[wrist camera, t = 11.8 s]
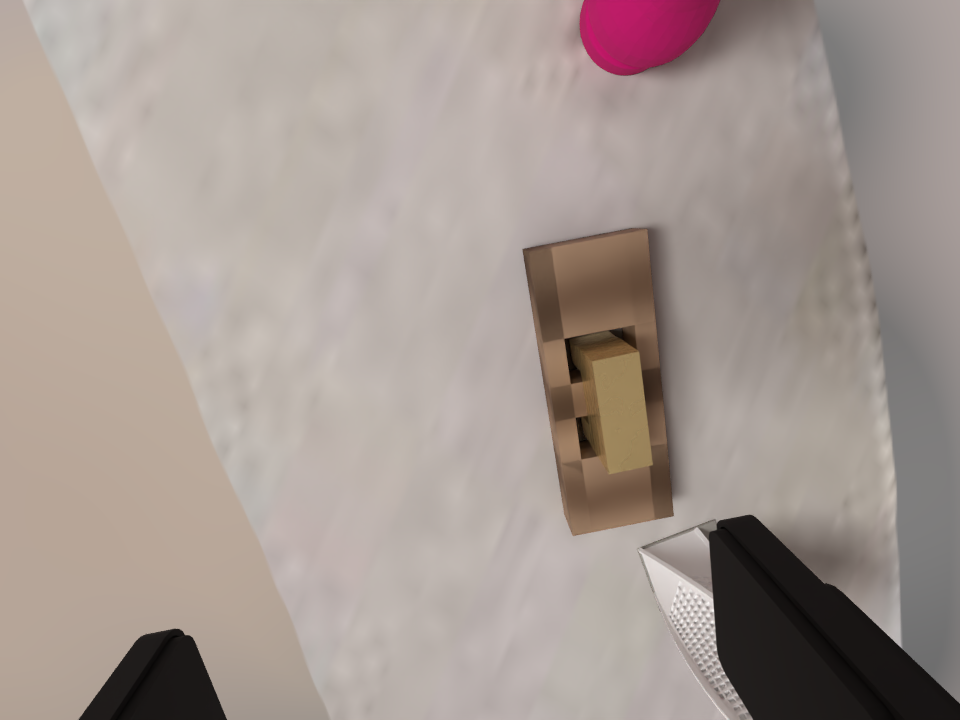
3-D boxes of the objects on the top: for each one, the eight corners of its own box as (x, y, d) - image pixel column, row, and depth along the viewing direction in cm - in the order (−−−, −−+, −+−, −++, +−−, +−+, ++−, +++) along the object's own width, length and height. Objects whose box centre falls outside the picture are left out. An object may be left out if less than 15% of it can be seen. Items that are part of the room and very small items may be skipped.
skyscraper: (643, 614, 47) (908, 1149, 20) (616, 542, 45) (872, 1034, 18) (732, 580, 47) (1124, 1079, 20) (709, 506, 44) (1113, 953, 18)
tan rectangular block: (568, 337, 39) (592, 361, 33) (607, 329, 39) (639, 351, 33) (583, 434, 41) (608, 474, 35) (620, 426, 41) (652, 465, 35)
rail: (522, 249, 37) (528, 251, 35) (631, 228, 38) (647, 229, 35) (564, 514, 43) (572, 536, 41) (658, 496, 43) (673, 516, 41)
